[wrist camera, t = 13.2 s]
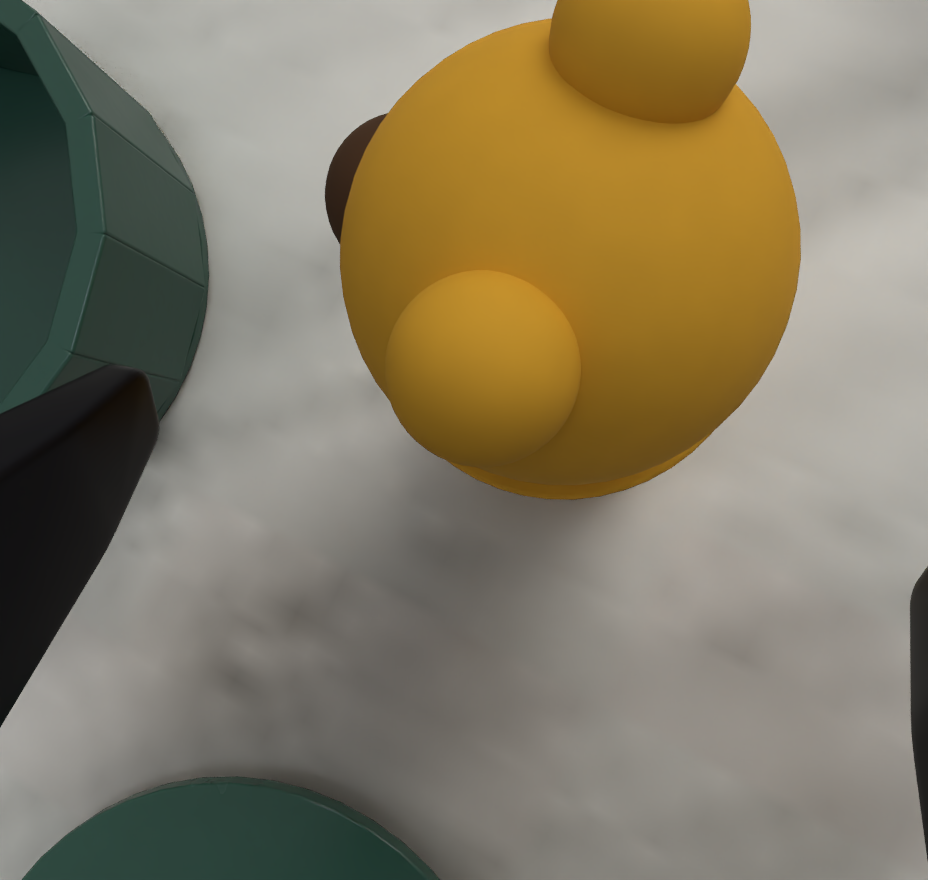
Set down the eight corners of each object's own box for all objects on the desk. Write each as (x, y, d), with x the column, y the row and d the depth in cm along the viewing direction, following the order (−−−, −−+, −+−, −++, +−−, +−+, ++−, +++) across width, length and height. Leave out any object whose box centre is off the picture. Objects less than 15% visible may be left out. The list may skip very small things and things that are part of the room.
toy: (708, 331, 19) (1057, -10, 6) (608, 529, 19) (728, 641, 6) (499, 234, 20) (381, -276, 6) (404, 425, 20) (89, 313, 6)
